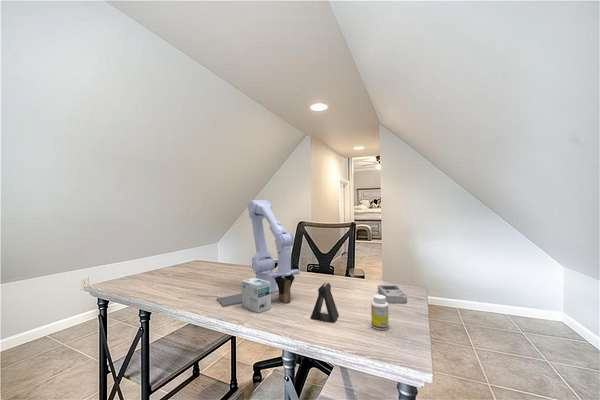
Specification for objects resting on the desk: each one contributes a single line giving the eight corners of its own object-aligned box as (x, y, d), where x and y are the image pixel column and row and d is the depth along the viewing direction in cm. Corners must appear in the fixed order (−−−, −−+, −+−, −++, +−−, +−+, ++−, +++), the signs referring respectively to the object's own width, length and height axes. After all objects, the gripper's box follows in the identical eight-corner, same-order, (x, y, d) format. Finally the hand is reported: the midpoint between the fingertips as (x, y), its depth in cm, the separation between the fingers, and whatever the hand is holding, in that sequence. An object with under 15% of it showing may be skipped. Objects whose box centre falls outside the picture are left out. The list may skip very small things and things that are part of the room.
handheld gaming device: (386, 304, 111) (386, 295, 111) (377, 292, 125) (377, 284, 125) (408, 304, 110) (408, 295, 110) (396, 293, 125) (396, 284, 125)
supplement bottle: (375, 321, 93) (375, 292, 93) (391, 326, 89) (390, 295, 90) (368, 327, 89) (368, 296, 89) (384, 332, 85) (384, 300, 85)
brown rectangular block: (283, 297, 117) (283, 277, 117) (290, 301, 112) (290, 280, 112) (278, 298, 116) (278, 278, 116) (285, 302, 111) (285, 281, 111)
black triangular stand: (339, 316, 98) (338, 283, 98) (334, 323, 92) (334, 288, 92) (316, 313, 101) (315, 281, 101) (310, 319, 96) (310, 285, 96)
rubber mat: (242, 294, 123) (242, 293, 123) (251, 301, 114) (251, 299, 114) (216, 299, 116) (216, 298, 116) (223, 306, 108) (223, 305, 108)
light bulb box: (271, 308, 106) (271, 281, 106) (258, 313, 101) (258, 285, 101) (254, 302, 113) (254, 276, 113) (241, 306, 108) (241, 280, 108)
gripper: (273, 265, 107) (273, 299, 107) (303, 261, 115) (303, 292, 115) (265, 262, 113) (265, 294, 113) (294, 258, 121) (295, 288, 120)
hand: (284, 293), depth 114 cm, fingers closed on brown rectangular block, 2 cm apart
